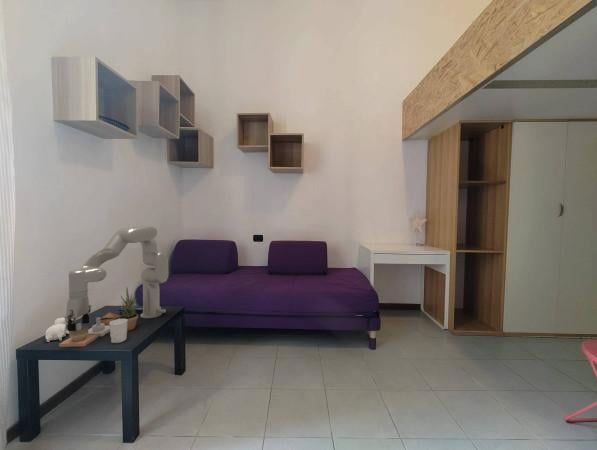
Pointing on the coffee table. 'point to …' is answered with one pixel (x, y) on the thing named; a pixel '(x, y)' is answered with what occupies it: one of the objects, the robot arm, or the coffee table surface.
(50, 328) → the white figurine
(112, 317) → the sunglasses case
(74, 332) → the birch ring
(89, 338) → the hub post
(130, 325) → the potted plant
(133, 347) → the coffee table surface
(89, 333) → the stand
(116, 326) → the white cup
